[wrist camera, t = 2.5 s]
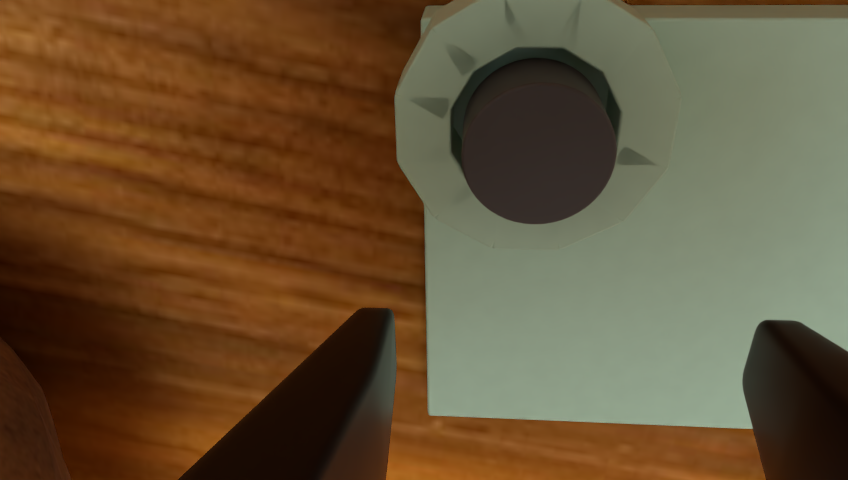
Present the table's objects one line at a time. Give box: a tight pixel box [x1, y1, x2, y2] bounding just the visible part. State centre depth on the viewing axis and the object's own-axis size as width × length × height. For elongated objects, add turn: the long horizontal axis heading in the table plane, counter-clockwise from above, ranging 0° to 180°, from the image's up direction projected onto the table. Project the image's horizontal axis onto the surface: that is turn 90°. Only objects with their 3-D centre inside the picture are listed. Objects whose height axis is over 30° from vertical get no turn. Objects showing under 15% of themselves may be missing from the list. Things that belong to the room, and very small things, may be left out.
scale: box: [394, 0, 848, 429], centre depth 17 cm, size 12×13×3 cm
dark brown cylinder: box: [461, 58, 617, 224], centre depth 14 cm, size 3×3×2 cm
